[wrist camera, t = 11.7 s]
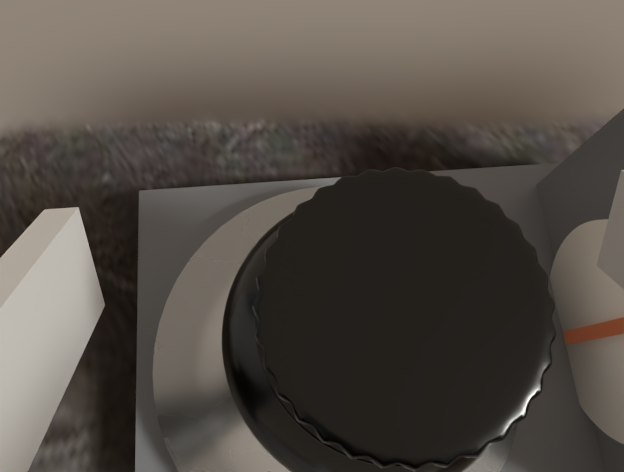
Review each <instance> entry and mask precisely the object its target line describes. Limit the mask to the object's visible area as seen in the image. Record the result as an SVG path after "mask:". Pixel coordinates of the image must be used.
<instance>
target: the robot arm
mask: <svg viewBox="0 0 624 472" xmlns="http://www.w3.org/2000/svg"><path fill="white" fill-rule="evenodd" d="M596 266H597V267H598V268H600V269H601V270H602V271H603V272H604V273H605V274H606V275H608V276H609V277H610V278H611V279H612V280H613V281H614V282H616V283H617V284H618V285H619V286H620V287H621V288H623V289H624V170H621V173H620V177H619V180H618V184H617V188H616V192H615V196H614V200H613V203H612V207H611V211H610V215H609V219H608V223H607V227H606V230H605V234H604V238H603V242H602V246H601V250H600V254H599V257H598V261H597V265H596ZM104 307H105V303H104V299H103V296H102V292H101V288H100V285H99V281H98V277H97V274H96V270H95V266H94V262H93V259H92V255H91V251H90V248H89V244H88V240H87V237H86V233H85V229H84V226H83V222H82V218H81V215H80V211H79V207H73V208H58V209H44V210H43V212H42V213H41V214H40V215H39V216H38V217H37V218H36V219H35V220H34V221H33V223H32V224H31V225H30V226H29V227H28V228H27V229H26V230H25V231H24V232H23V234H22V235H21V236H20V237H19V238H18V239H17V240H16V241H15V242H14V243H13V245H12V246H11V247H10V248H9V249H8V250H7V251H6V252H5V253H4V254H3V256H2V257H1V258H0V472H28V470H29V468H30V466H31V464H32V461H33V459H34V457H35V455H36V453H37V451H38V449H39V446H40V444H41V442H42V440H43V438H44V436H45V434H46V431H47V429H48V427H49V425H50V423H51V421H52V418H53V416H54V414H55V412H56V410H57V408H58V406H59V403H60V401H61V399H62V397H63V395H64V393H65V390H66V388H67V386H68V384H69V382H70V380H71V378H72V375H73V373H74V371H75V369H76V367H77V365H78V363H79V360H80V358H81V356H82V354H83V352H84V350H85V347H86V345H87V343H88V341H89V339H90V337H91V335H92V332H93V330H94V328H95V326H96V324H97V322H98V319H99V317H100V315H101V313H102V311H103V309H104Z"/></svg>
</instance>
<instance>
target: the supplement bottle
mask: <svg viewBox="0 0 624 472" xmlns="http://www.w3.org/2000/svg"><path fill="white" fill-rule="evenodd" d="M554 308H555V303H554V301H553V299H552V297H551V295H550V293H549V291H548V275H547V273H546V272H545V271H544V269H543V268H542V267H541V266H540V264H539V263H538V259H537V252H536V249H535V248H534V247H533V246H532V245H531V244H530V243H529V242H528V241H527V240H526V239H524V236H523V234H522V230H521V228H520V226H519V225H518V224H517V223H516V222H514V221H513V220H511V219H509V218H508V217H506V215H505V214H504V212H503V210H502V209H501V207H500V206H499V204H497V203H494V202H492V201H490V200H487V199H485V198H484V197H483V196H482V194H481V193H480V192H479V191H478V190H477V189H476V188H473V187H469V186H464V185H461V184H459V183H458V182H457V181H456V180H455V179H453V178H452V177H451V176H436V175H434V174H432V173H431V172H429V171H427V170H424V169H419V170H413V171H408V170H405V169H403V168H399V167H393V168H390V169H387V170H385V171H379V170H375V169H368V170H366V171H364V172H363V173H361V174H359V175H358V176H351V175H349V176H342V177H341V178H340V179H339V180H338V181H337V182H336V183H335V184H334V185H329V186H324V187H321V188H319V189H318V190H317V191H316V192H315V194H314V196H313V197H312V199H310V200H307V201H305V202H302V203H300V204H298V205H297V207H296V209H295V211H294V212H292V213H290V214H289V215H287V216H286V217H284V218H283V219H282V220H280V221H279V222H278V223H276V224H275V225H274V226H273V227H272V228H270V229H269V230H268V231H267V232H266V233H265V234H264V235H263V236H262V237H261V238H260V239H259V241H258V242H257V243H256V244H255V246H254V247H253V248H252V249H251V251H250V252H249V253H248V255H247V256H246V258H245V260H244V261H243V263H242V264H241V266H240V268H239V270H238V272H237V274H236V276H235V278H234V281H233V283H232V286H231V288H230V291H229V294H228V298H227V301H226V305H225V310H224V315H223V323H222V357H223V365H224V370H225V375H226V379H227V383H228V386H229V389H230V392H231V395H232V398H233V400H234V402H235V405H236V407H237V409H238V411H239V413H240V415H241V417H242V419H243V420H244V422H245V424H246V425H247V427H248V428H249V430H250V431H251V433H252V434H253V436H254V437H255V438H256V439H257V440H258V442H259V443H260V444H261V445H262V446H263V448H264V449H265V450H266V451H267V452H268V453H269V454H270V455H271V456H272V457H273V458H274V459H275V460H277V461H278V462H279V463H280V464H282V465H283V466H284V467H285V468H287V469H288V470H289V471H291V472H463V471H465V470H466V469H467V468H469V467H470V466H471V465H472V464H473V463H474V462H476V461H477V460H478V459H479V458H480V457H481V456H482V455H483V454H484V453H485V452H486V450H487V449H488V448H489V447H490V446H491V445H492V444H493V443H497V442H500V441H503V440H505V438H506V436H507V435H508V433H509V431H510V429H511V426H512V425H513V424H514V423H517V422H520V421H521V420H523V419H524V418H526V415H527V413H528V410H529V406H530V401H532V400H533V399H534V398H536V397H537V396H538V395H539V394H540V393H541V392H542V387H543V375H544V374H545V372H546V371H547V370H548V369H549V368H550V366H551V365H552V353H551V345H552V343H553V341H554V339H555V337H556V334H557V333H556V329H555V326H554V323H553V320H552V315H553V312H554Z"/></svg>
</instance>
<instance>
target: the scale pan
mask: <svg viewBox="0 0 624 472" xmlns="http://www.w3.org/2000/svg"><path fill="white" fill-rule="evenodd" d="M321 187H324V186H321ZM321 187H313V188H305V189H299V190H295V191H291V192H287V193H284V194H280V195H277V196H275V197H272V198H269V199H267V200H264V201H262V202H259V203H257V204H256V205H254V206H252V207H250V208H248V209H246V210H244V211H243V212H241V213H239V214H238V215H236V216H235V217H234V218H232V219H231V220H229V221H228V222H227V223H225V224H224V225H222V226H221V227H220V228H219V229H218V230H217V231H216V232H215V233H213V234H212V235H211V236H210V237H209V238H208V239H207V240H206V241H205V242H204V243H203V244H202V245H201V247H200V248H199V249H198V250H197V251H196V253H195V254H194V255H193V256H192V257H191V258H190V260H189V261H188V263H187V264H186V266H185V267H184V269H183V271H182V272H181V274H180V275H179V277H178V278H177V280H176V282H175V284H174V286H173V288H172V291H171V293H170V295H169V297H168V299H167V301H166V304H165V307H164V310H163V313H162V316H161V319H160V322H159V326H158V331H157V336H156V341H155V346H154V357H153V372H152V374H153V391H154V401H155V407H156V412H157V417H158V422H159V426H160V429H161V432H162V435H163V438H164V441H165V444H166V447H167V450H168V452H169V454H170V456H171V458H172V460H173V462H174V464H175V466H176V468H177V470H178V472H291V471H289V470H288V469H287V468H285V467H284V466H283V465H282V464H280V463H279V462H278V461H277V460H275V459H274V458H273V457H272V456H271V455H270V454H269V453H268V452H267V451H266V450H265V449H264V448H263V446H262V445H261V444H260V443H259V442H258V440H257V439H256V438H255V437H254V436H253V434H252V433H251V431H250V430H249V428H248V427H247V425H246V424H245V422H244V420H243V419H242V417H241V415H240V413H239V411H238V409H237V407H236V405H235V402H234V400H233V398H232V395H231V392H230V389H229V386H228V383H227V379H226V375H225V370H224V365H223V357H222V323H223V315H224V310H225V305H226V301H227V298H228V294H229V291H230V288H231V286H232V283H233V281H234V278H235V276H236V274H237V272H238V270H239V268H240V266H241V264H242V263H243V261H244V260H245V258H246V256H247V255H248V253H249V252H250V251H251V249H252V248H253V247H254V246H255V244H256V243H257V242H258V241H259V239H260V238H261V237H262V236H263V235H264V234H265V233H266V232H267V231H268V230H269V229H270V228H272V227H273V226H274V225H275V224H276V223H278V222H279V221H280V220H282V219H283V218H284V217H286V216H287V215H289V214H290V213H292V212H294V211H295V209H296V207H297V205H298V204H300V203H302V202H305V201H307V200H310V199H312V197H313V196H314V194H315V192H316V191H317V190H318V189H319V188H321ZM517 425H518V422H517V423H514V424H513V425H512V426H511V429H510V431H509V433H508V435H507V436H506V438H505V440H503V441H500V442H497V443H493V444H492V445H491V446H490V447H489V448H488V449H487V450H486V452H485V453H484V454H483V455H482V456H481V457H480V458H479V459H478V460H477V461H476V462H474V463H473V464H472V465H471V466H470V467H469V468H467V469H466V470H465V471H463V472H500V471H501V469H502V467H503V466H504V464H505V461H506V459H507V456H508V454H509V451H510V449H511V446H512V443H513V441H514V438H515V433H516V429H517Z"/></svg>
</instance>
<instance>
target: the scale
mask: <svg viewBox="0 0 624 472" xmlns="http://www.w3.org/2000/svg"><path fill="white" fill-rule="evenodd" d="M621 170H624V109H623V110H622V111H620V112H619V113H618V114H617V115H616V116H615V117H613V118H612V119H611V120H610V121H609V122H608V123H607V124H605V125H604V126H603V127H602V128H601V129H600V130H599V131H597V132H596V133H595V134H594V135H593V136H592V137H590V138H589V139H588V140H587V141H586V142H585V143H584V144H582V145H581V146H580V147H579V148H578V149H577V150H575V151H574V152H573V153H572V154H571V155H570V156H569V157H567V158H566V159H565V160H564V161H563V162H562V163H549V164H534V165H519V166H504V167H489V168H473V169H458V170H443V171H429V172H431V173H432V174H434V175H436V176H451V177H452V178H453V179H455V180H456V181H457V182H458V183H459V184H461V185H464V186H469V187H473V188H476V189H477V190H478V191H479V192H480V193H481V194H482V196H483V197H484V198H485V199H487V200H490V201H492V202H494V203H497V204H499V206H500V207H501V209H502V210H503V212H504V214H505V215H506V217H508V218H509V219H511V220H513V221H514V222H516V223H517V224H518V225H519V226H520V228H521V230H522V234H523V236H524V239H526V240H527V241H528V242H529V243H530V244H531V245H532V246H533V247H534V248H535V249H536V252H537V259H538V263H539V264H540V266H541V267H542V268H543V269H544V271H545V272H546V273H547V275H548V291H549V293H550V295H551V297H552V299H553V301H554V303H555V308H554V312H553V315H552V320H553V323H554V326H555V329H556V333H557V334H556V337H555V339H554V341H553V343H552V345H551V353H552V365H551V366H550V368H549V369H548V370H547V371H546V372H545V374H544V375H543V387H542V392H541V393H540V394H539V395H538V396H537V397H536V398H534V399H533V400H532V401H530V406H529V410H528V413H527V415H526V418H524V419H523V420H521V421H520V422H518V425H517V429H516V433H515V438H514V441H513V443H512V446H511V449H510V451H509V454H508V456H507V459H506V461H505V464H504V466H503V467H502V469H501V471H500V472H624V289H623V288H621V287H620V286H619V285H618V284H617V283H616V282H614V281H613V280H612V279H611V278H610V277H609V276H608V275H606V274H605V273H604V272H603V271H602V270H601V269H600V268H598V267H597V266H596V265H597V261H598V257H599V254H600V250H601V246H602V242H603V238H604V234H605V230H606V227H607V223H608V219H609V215H610V211H611V207H612V203H613V200H614V196H615V192H616V188H617V184H618V180H619V177H620V173H621ZM340 178H341V177H337V178H322V179H307V180H292V181H277V182H262V183H246V184H231V185H216V186H201V187H186V188H171V189H156V190H140V191H139V224H138V297H137V369H136V442H135V472H178V470H177V468H176V466H175V464H174V462H173V460H172V458H171V456H170V454H169V452H168V450H167V447H166V444H165V441H164V438H163V435H162V432H161V429H160V426H159V422H158V417H157V412H156V407H155V401H154V391H153V374H152V372H153V357H154V346H155V341H156V336H157V331H158V326H159V322H160V319H161V316H162V313H163V310H164V307H165V304H166V301H167V299H168V297H169V295H170V293H171V291H172V288H173V286H174V284H175V282H176V280H177V278H178V277H179V275H180V274H181V272H182V271H183V269H184V267H185V266H186V264H187V263H188V261H189V260H190V258H191V257H192V256H193V255H194V254H195V253H196V251H197V250H198V249H199V248H200V247H201V245H202V244H203V243H204V242H205V241H206V240H207V239H208V238H209V237H210V236H211V235H212V234H213V233H215V232H216V231H217V230H218V229H219V228H220V227H221V226H222V225H224V224H225V223H227V222H228V221H229V220H231V219H232V218H234V217H235V216H236V215H238V214H239V213H241V212H243V211H244V210H246V209H248V208H250V207H252V206H254V205H256V204H257V203H259V202H262V201H264V200H267V199H269V198H272V197H275V196H277V195H280V194H284V193H287V192H291V191H295V190H299V189H305V188H313V187H321V186H329V185H334V184H335V183H336V182H337V181H338V180H339V179H340Z"/></svg>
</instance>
